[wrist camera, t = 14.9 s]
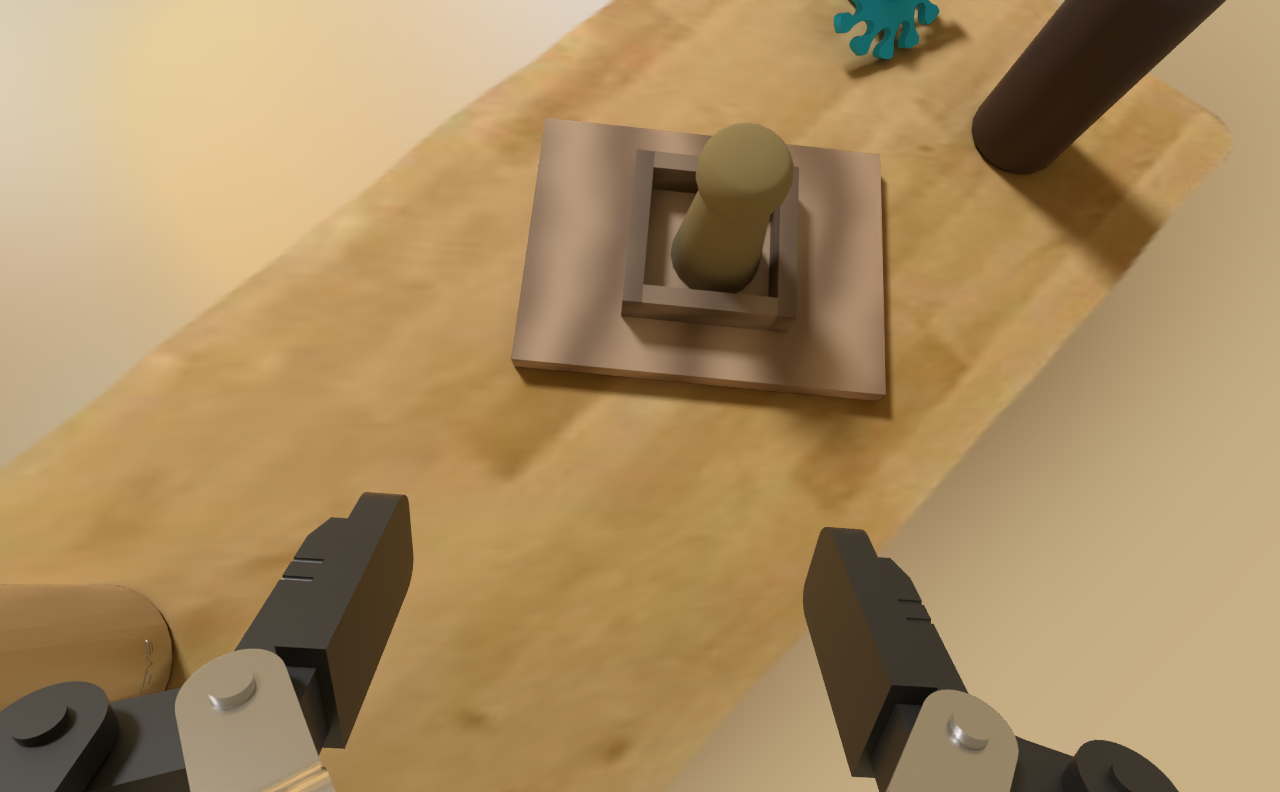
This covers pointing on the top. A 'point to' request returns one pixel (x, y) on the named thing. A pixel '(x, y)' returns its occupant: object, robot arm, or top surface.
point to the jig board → (696, 319)
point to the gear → (885, 24)
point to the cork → (732, 208)
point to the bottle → (1078, 75)
